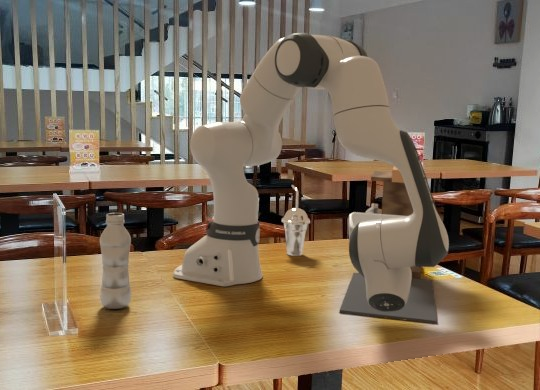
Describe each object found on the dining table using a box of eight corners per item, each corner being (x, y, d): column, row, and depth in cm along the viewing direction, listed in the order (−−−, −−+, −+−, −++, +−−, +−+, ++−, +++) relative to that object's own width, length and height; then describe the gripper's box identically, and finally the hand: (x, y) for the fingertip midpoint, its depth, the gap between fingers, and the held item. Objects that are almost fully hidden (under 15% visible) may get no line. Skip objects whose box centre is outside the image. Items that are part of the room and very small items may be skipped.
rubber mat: (339, 312, 126) (339, 310, 125) (353, 274, 154) (353, 272, 154) (436, 323, 121) (436, 320, 121) (432, 282, 150) (432, 280, 150)
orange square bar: (391, 182, 141) (392, 169, 141) (394, 173, 160) (395, 162, 160) (404, 182, 141) (405, 170, 140) (405, 173, 160) (406, 162, 159)
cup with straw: (277, 256, 171) (279, 188, 168) (283, 249, 179) (286, 184, 176) (306, 258, 169) (309, 190, 166) (311, 251, 178) (314, 185, 175)
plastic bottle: (100, 313, 121) (98, 217, 117) (100, 302, 127) (99, 211, 124) (132, 311, 122) (131, 217, 119) (130, 301, 129) (130, 211, 126)
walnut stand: (365, 274, 155) (371, 176, 151) (369, 261, 168) (374, 171, 164) (420, 280, 151) (427, 180, 147) (419, 266, 165) (426, 174, 161)
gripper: (443, 241, 121) (443, 199, 131) (344, 233, 125) (351, 193, 136) (441, 263, 124) (441, 221, 135) (344, 254, 129) (351, 214, 140)
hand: (395, 207), depth 135 cm, fingers open, 8 cm apart
